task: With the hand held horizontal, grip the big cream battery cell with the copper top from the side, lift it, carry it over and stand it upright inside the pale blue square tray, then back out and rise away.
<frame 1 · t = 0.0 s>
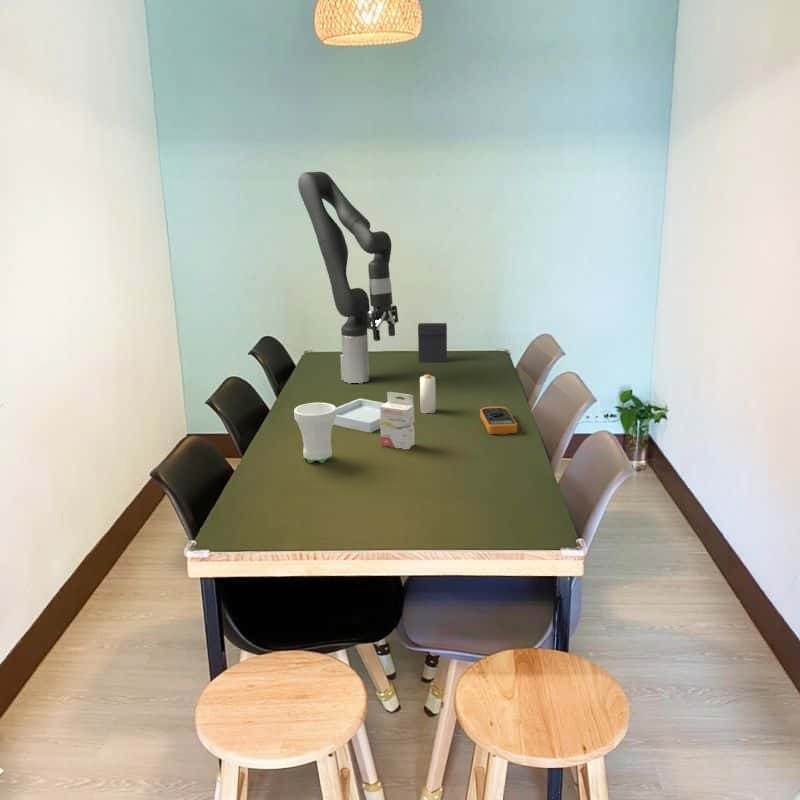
hand: (384, 338, 273), 17 cm above the table, tool pointing down, fingers open, 8 cm apart
cup: (318, 459, 212), on the table
multimeter: (497, 426, 236), on the table
pale blue square tray: (364, 419, 243), on the table
ink cartridge box: (397, 446, 221), on the table
dark grey box: (432, 361, 310), on the table
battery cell: (428, 411, 249), on the table
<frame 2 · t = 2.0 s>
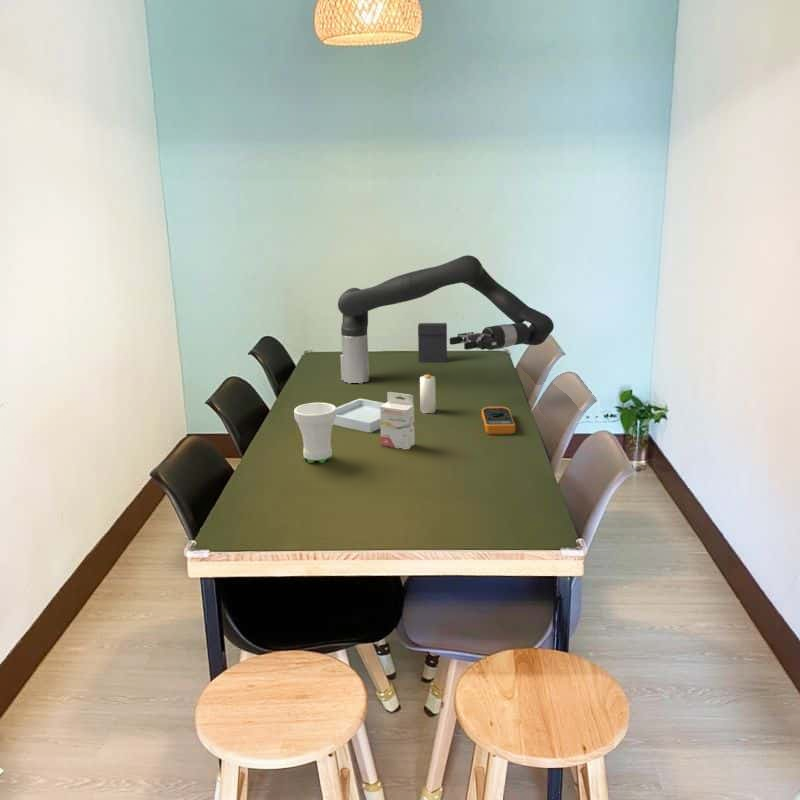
hand: (457, 343, 248), 20 cm above the table, tool horizontal, fingers open, 8 cm apart
nothing on the table moved.
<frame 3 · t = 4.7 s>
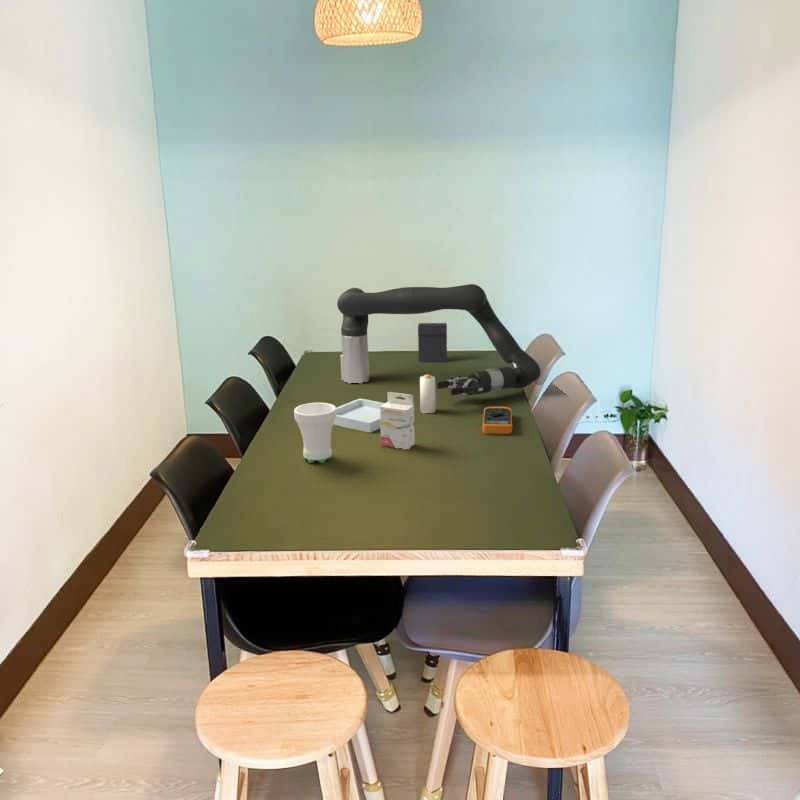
hand: (444, 388, 250), 6 cm above the table, tool horizontal, fingers open, 8 cm apart
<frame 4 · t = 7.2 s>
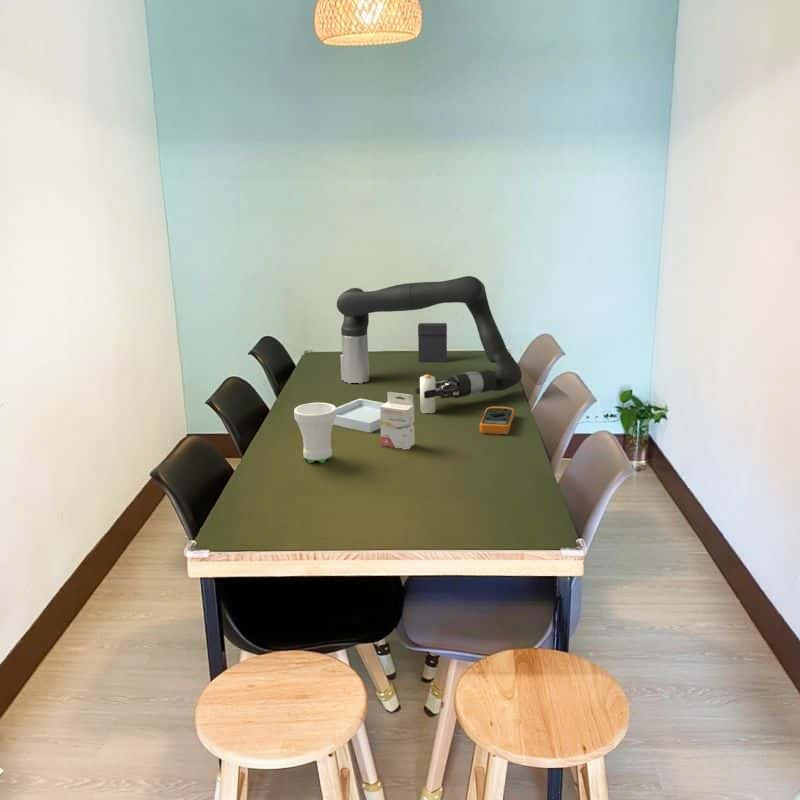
hand: (420, 392, 246), 7 cm above the table, tool horizontal, fingers closed on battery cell, 4 cm apart
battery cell: (428, 411, 249), on the table, touching gripper
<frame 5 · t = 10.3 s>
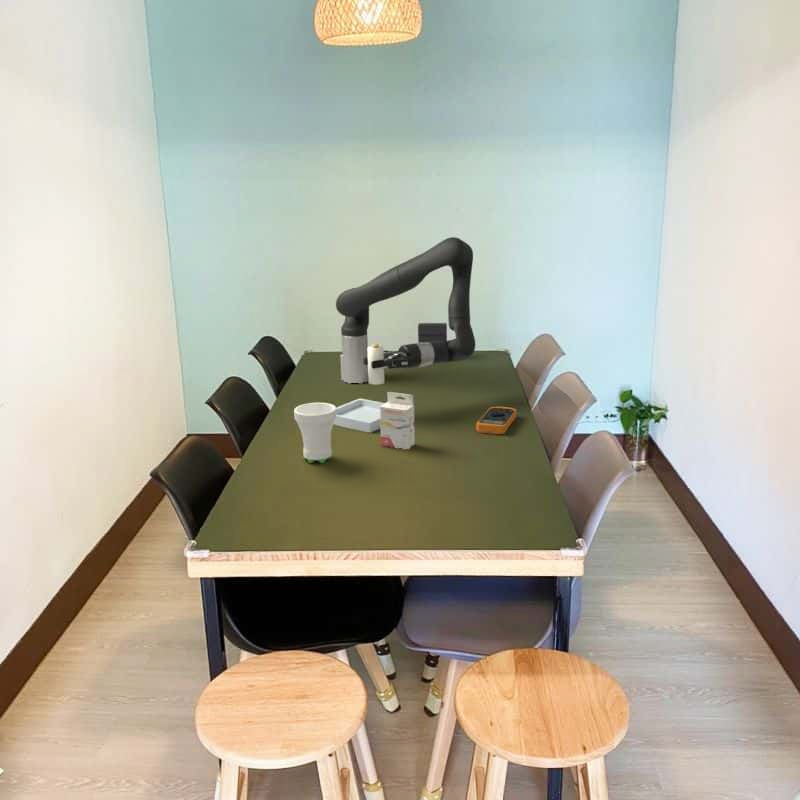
hand: (368, 363, 238), 18 cm above the table, tool horizontal, fingers closed on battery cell, 4 cm apart
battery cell: (376, 382, 241), point 11 cm above the table, touching gripper
when the fingers open (9 cm above the table, at t = 13.3 s): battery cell drops 1 cm, resting on pale blue square tray.
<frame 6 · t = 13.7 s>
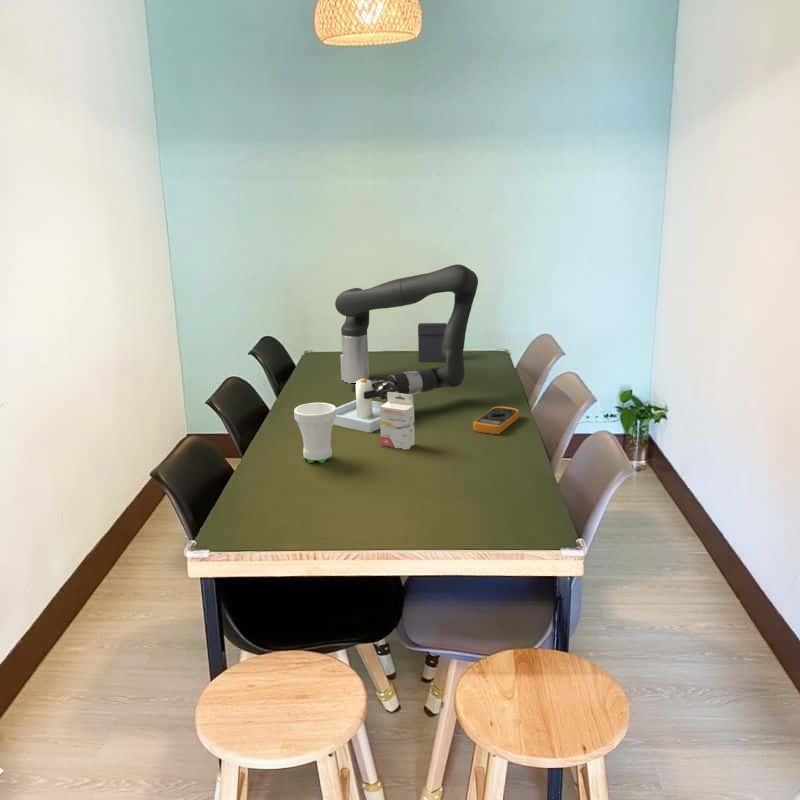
hand: (358, 392, 239), 9 cm above the table, tool horizontal, fingers open, 8 cm apart
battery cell: (364, 416, 243), point 1 cm above the table, touching pale blue square tray
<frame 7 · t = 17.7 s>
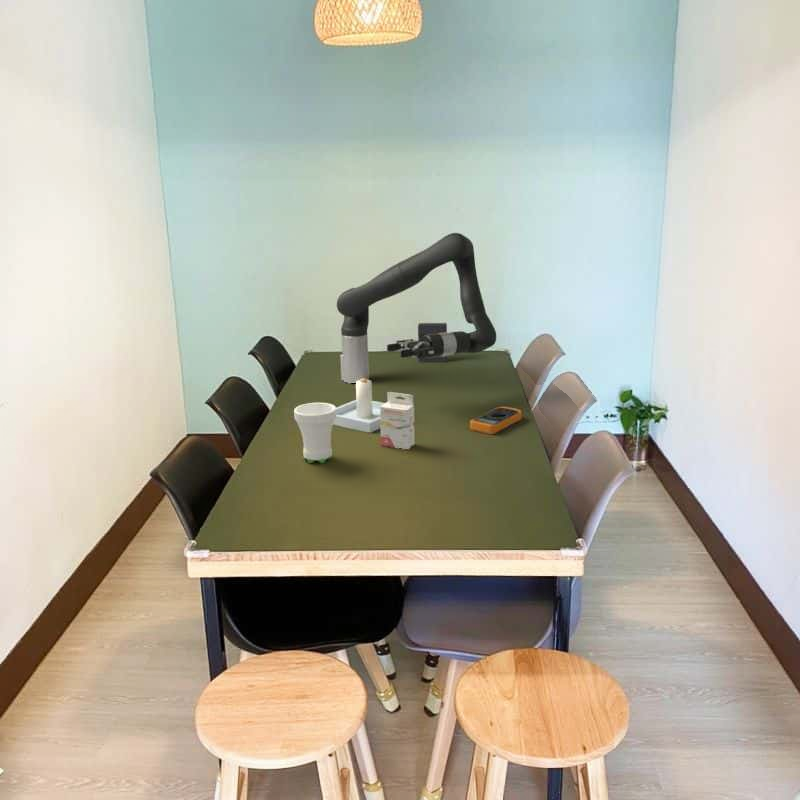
hand: (394, 351, 242), 20 cm above the table, tool horizontal, fingers open, 8 cm apart
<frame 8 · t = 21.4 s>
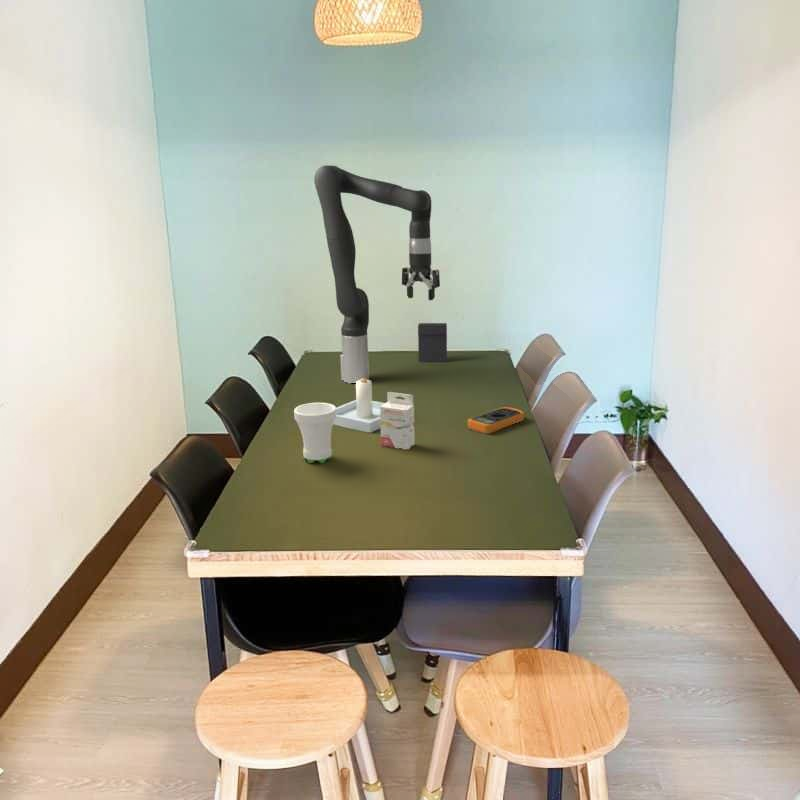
hand: (420, 298, 272), 30 cm above the table, tool pointing down, fingers open, 8 cm apart
at the end: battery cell inside the target area on the pale blue square tray (0.1 cm from its centre), point 1.0 cm above the pale blue square tray's base; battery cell tilted 0°; the gripper is holding nothing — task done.
